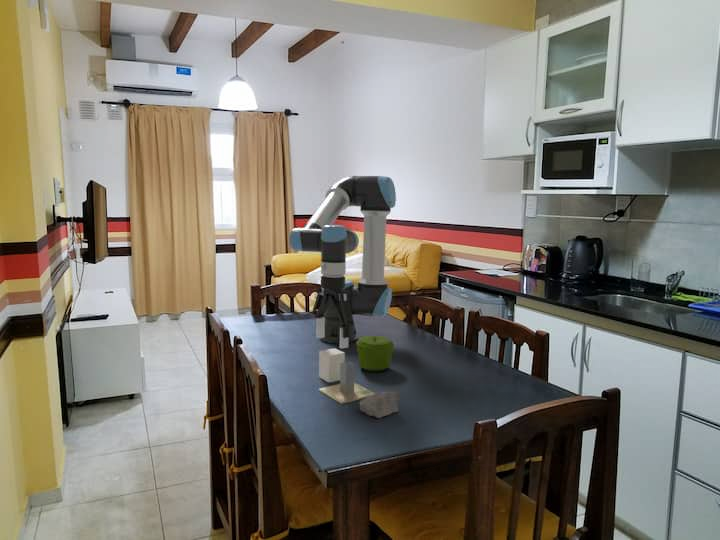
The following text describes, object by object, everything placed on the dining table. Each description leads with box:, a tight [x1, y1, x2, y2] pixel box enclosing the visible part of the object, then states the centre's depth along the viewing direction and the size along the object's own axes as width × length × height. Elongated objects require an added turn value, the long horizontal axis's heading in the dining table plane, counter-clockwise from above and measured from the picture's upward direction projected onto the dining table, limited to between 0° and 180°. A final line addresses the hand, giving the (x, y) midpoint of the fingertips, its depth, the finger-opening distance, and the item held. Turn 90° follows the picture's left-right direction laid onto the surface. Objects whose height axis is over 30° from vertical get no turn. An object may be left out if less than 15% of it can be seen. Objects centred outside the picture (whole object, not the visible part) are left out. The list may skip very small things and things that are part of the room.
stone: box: [359, 391, 399, 419], centre depth 143 cm, size 8×10×6 cm
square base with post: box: [318, 361, 376, 405], centre depth 155 cm, size 12×12×9 cm
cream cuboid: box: [318, 347, 346, 383], centre depth 168 cm, size 6×6×9 cm
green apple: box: [355, 335, 395, 372], centre depth 177 cm, size 12×12×11 cm
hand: (331, 342), depth 166 cm, fingers open, 13 cm apart
